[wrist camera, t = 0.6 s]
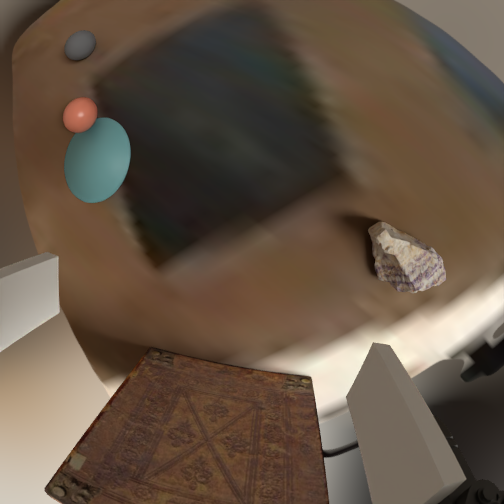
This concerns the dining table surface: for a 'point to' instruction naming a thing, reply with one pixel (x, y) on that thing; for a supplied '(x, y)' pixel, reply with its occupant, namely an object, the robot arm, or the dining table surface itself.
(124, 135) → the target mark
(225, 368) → the book
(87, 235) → the dining table surface
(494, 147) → the dining table surface
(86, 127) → the object ball
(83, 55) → the gray ball
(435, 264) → the mineral specimen
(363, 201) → the dining table surface
